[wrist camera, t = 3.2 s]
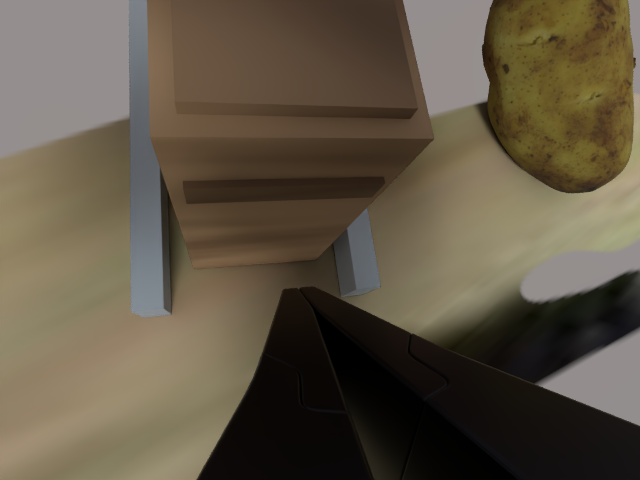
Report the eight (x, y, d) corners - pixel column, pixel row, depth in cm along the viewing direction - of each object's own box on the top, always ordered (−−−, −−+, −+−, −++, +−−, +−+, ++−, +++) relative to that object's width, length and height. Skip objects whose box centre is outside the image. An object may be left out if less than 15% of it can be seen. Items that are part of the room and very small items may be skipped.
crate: (316, 263, 20) (445, 137, 8) (194, 273, 18) (145, 135, 7) (300, 138, 22) (387, -108, 10) (187, 137, 20) (140, -153, 9)
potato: (476, 203, 24) (592, 133, 16) (443, 30, 27) (526, -93, 20) (586, 205, 26) (734, 144, 18) (542, 45, 29) (652, -62, 22)
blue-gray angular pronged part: (362, 294, 20) (428, 265, 14) (143, 317, 18) (95, 294, 11) (317, 9, 25) (351, -113, 18) (138, -8, 22) (103, -159, 16)
